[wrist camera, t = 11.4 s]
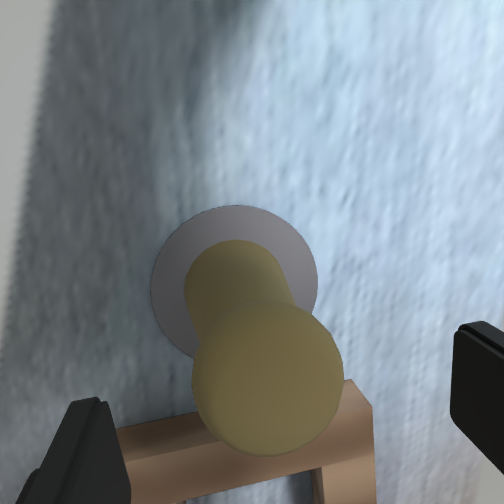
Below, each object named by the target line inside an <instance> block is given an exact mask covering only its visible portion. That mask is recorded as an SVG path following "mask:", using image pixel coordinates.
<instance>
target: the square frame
mask: <svg viewBox="0 0 504 504" xmlns="http://www.w3.org/2000/svg"><path fill="white" fill-rule="evenodd" d="M115 430H116V433H117V437H118V441H119V444H120V448H121V451H122V455H123V459H124V462H125V466H126V470H127V473H128V477H129V480H130V485H131V504H186V500H188V499H192V498H196V497H200V496H204V495H208V494H212V493H217V492H221V491H225V490H229V489H233V488H237V487H241V486H245V485H249V484H253V483H257V482H262V481H266V480H270V479H274V478H278V477H282V476H286V475H290V474H294V473H298V472H303V471H307V470H311V480H312V490H313V501H314V504H377V501H376V480H375V458H374V436H373V414H372V406H371V404H370V403H369V402H368V401H367V399H366V398H365V397H364V395H363V394H362V393H361V391H360V390H359V389H358V387H357V386H356V385H355V383H354V382H353V381H352V379H349V380H344V386H343V390H342V394H341V399H340V403H339V407H338V410H337V412H336V414H335V416H334V417H333V419H332V421H331V422H330V424H329V426H328V427H327V428H326V429H325V430H324V431H323V432H322V433H321V434H320V435H319V436H318V437H317V438H316V439H315V440H314V441H313V442H311V443H309V444H307V445H306V446H304V447H302V448H300V449H298V450H297V451H295V452H291V453H288V454H284V455H280V456H276V457H253V456H250V455H247V454H244V453H241V452H238V451H235V450H233V449H232V448H230V447H229V446H227V445H226V444H225V443H223V442H222V441H221V440H219V439H218V438H217V437H215V436H214V435H212V434H211V432H210V431H209V429H208V428H207V426H206V425H205V423H204V421H203V420H202V418H201V417H200V415H199V413H198V412H194V413H190V414H185V415H180V416H175V417H171V418H166V419H161V420H157V421H152V422H147V423H143V424H138V425H133V426H129V427H124V428H119V429H115Z"/></svg>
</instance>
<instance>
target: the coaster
mask: <svg viewBox="0 0 504 504" xmlns="http://www.w3.org/2000/svg"><path fill="white" fill-rule="evenodd" d="M234 239H237V240H245V241H252V242H254V243H256V244H258V245H260V246H262V247H264V248H266V249H267V250H268V251H269V252H270V253H271V254H272V255H273V256H274V257H275V258H276V259H277V261H278V263H279V265H280V267H281V269H282V271H283V273H284V276H285V278H286V281H287V283H288V286H289V289H290V291H291V294H292V296H293V299H294V301H295V304H296V306H297V307H299V308H301V309H303V310H305V311H308V312H310V313H312V311H313V308H314V305H315V301H316V297H317V288H318V276H317V270H316V265H315V261H314V258H313V255H312V253H311V251H310V249H309V247H308V245H307V244H306V242H305V240H304V239H303V238H302V236H301V235H300V234H299V233H298V232H297V230H295V229H294V228H293V227H292V226H291V225H290V224H289V223H287V222H286V221H284V220H283V219H281V218H280V217H278V216H276V215H274V214H272V213H270V212H268V211H265V210H262V209H259V208H255V207H250V206H240V205H233V206H223V207H218V208H213V209H210V210H208V211H205V212H202V213H200V214H198V215H196V216H194V217H192V218H191V219H189V220H188V221H186V222H185V223H184V224H182V225H181V226H180V227H179V228H178V229H177V230H176V231H175V232H174V233H173V234H172V235H171V236H170V237H169V239H168V240H167V241H166V243H165V244H164V246H163V248H162V249H161V251H160V253H159V255H158V258H157V260H156V263H155V266H154V269H153V272H152V279H151V302H152V307H153V311H154V314H155V317H156V319H157V322H158V324H159V326H160V328H161V329H162V331H163V332H164V334H165V335H166V336H167V338H168V339H169V340H170V341H171V342H172V343H173V344H174V345H175V346H176V347H177V348H178V349H179V350H181V351H182V352H184V353H185V354H187V355H188V356H190V357H192V358H195V353H196V352H197V350H198V348H199V346H200V343H199V340H198V337H197V334H196V331H195V328H194V325H193V323H192V320H191V317H190V314H189V311H188V308H187V305H186V300H185V295H184V286H185V279H186V275H187V273H188V271H189V269H190V267H191V265H192V263H193V261H194V260H195V259H196V258H197V257H198V256H199V255H200V254H201V253H202V252H203V251H204V250H205V249H207V248H209V247H211V246H213V245H215V244H217V243H219V242H223V241H229V240H234Z"/></svg>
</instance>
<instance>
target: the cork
mask: <svg viewBox="0 0 504 504" xmlns="http://www.w3.org/2000/svg"><path fill="white" fill-rule="evenodd" d="M184 295H185V300H186V305H187V308H188V311H189V314H190V317H191V320H192V323H193V325H194V328H195V331H196V334H197V337H198V340H199V343H200V346H199V348H198V350H197V352H196V353H195V358H194V364H193V371H192V390H193V395H194V400H195V404H196V408H197V410H198V413H199V415H200V417H201V418H202V420H203V421H204V423H205V425H206V426H207V428H208V429H209V431H210V432H211V434H212V435H214V436H215V437H217V438H218V439H219V440H221V441H222V442H223V443H225V444H226V445H227V446H229V447H230V448H232V449H233V450H235V451H238V452H241V453H244V454H247V455H250V456H253V457H276V456H280V455H284V454H288V453H291V452H295V451H297V450H298V449H300V448H302V447H304V446H306V445H307V444H309V443H311V442H313V441H314V440H315V439H316V438H317V437H318V436H319V435H320V434H321V433H322V432H323V431H324V430H325V429H326V428H327V427H328V426H329V424H330V422H331V421H332V419H333V417H334V416H335V414H336V412H337V410H338V407H339V403H340V399H341V394H342V390H343V386H344V372H343V362H342V359H341V355H340V352H339V350H338V348H337V346H336V344H335V342H334V340H333V338H332V335H331V334H330V332H329V331H328V330H327V329H326V328H325V327H324V326H323V325H322V324H321V323H320V322H319V321H318V320H317V319H316V318H315V317H314V316H313V315H312V314H311V313H310V312H308V311H305V310H303V309H301V308H299V307H297V306H296V304H295V301H294V299H293V296H292V294H291V291H290V289H289V286H288V283H287V281H286V278H285V276H284V273H283V271H282V269H281V267H280V265H279V263H278V261H277V259H276V258H275V257H274V256H273V255H272V254H271V253H270V252H269V251H268V250H267V249H266V248H264V247H262V246H260V245H258V244H256V243H254V242H252V241H245V240H237V239H234V240H229V241H223V242H219V243H217V244H215V245H213V246H211V247H209V248H207V249H205V250H204V251H203V252H202V253H201V254H200V255H199V256H198V257H197V258H196V259H195V260H194V261H193V263H192V265H191V267H190V269H189V271H188V273H187V275H186V279H185V286H184Z"/></svg>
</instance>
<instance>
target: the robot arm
mask: <svg viewBox="0 0 504 504" xmlns="http://www.w3.org/2000/svg"><path fill="white" fill-rule="evenodd" d="M450 415H451V418H452V420H453V422H454V423H455V425H456V426H457V427H458V428H459V429H460V430H461V431H462V432H463V433H464V434H465V435H466V436H467V437H468V438H469V439H470V440H471V441H472V442H473V443H474V444H475V446H476V447H477V448H478V449H479V450H480V451H481V452H482V453H483V454H484V455H485V456H486V457H487V458H488V459H489V460H490V461H491V462H492V463H493V464H494V465H495V466H496V467H497V468H498V469H499V470H500V471H501V472H502V474H504V332H502V331H501V330H499V329H497V328H495V327H494V326H492V325H490V324H489V323H487V322H484V321H477V322H472V323H467V324H462V325H461V326H459V328H458V331H456V332H455V334H454V343H453V361H452V379H451V397H450ZM15 504H131V485H130V480H129V477H128V473H127V470H126V466H125V462H124V459H123V455H122V451H121V448H120V444H119V441H118V437H117V433H116V430H115V426H114V422H113V419H112V415H111V411H110V408H109V405H108V403H107V401H103V402H101V401H100V399H99V398H98V397H92V398H87V399H82V400H77V401H73V402H71V404H70V405H69V407H68V410H67V412H66V414H65V416H64V418H63V420H62V422H61V424H60V426H59V429H58V431H57V433H56V435H55V437H54V439H53V441H52V443H51V445H50V447H49V450H48V452H47V454H46V456H45V458H44V460H43V462H42V464H41V466H40V468H39V469H36V470H34V471H33V472H32V473H31V475H30V476H29V478H28V479H27V481H26V483H25V485H24V487H23V489H22V491H21V493H20V495H19V497H18V499H17V501H16V503H15Z"/></svg>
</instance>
